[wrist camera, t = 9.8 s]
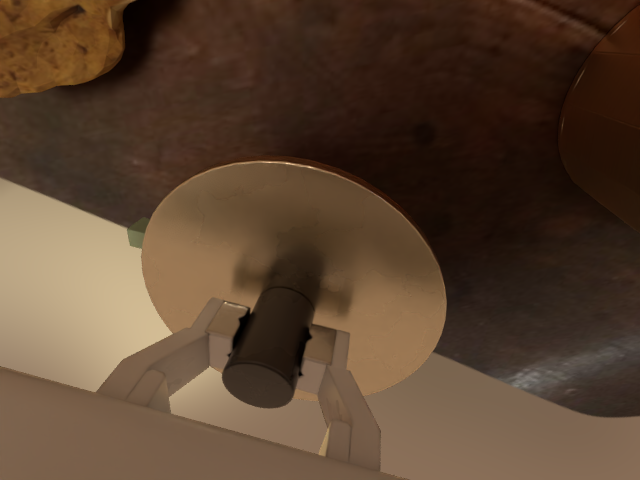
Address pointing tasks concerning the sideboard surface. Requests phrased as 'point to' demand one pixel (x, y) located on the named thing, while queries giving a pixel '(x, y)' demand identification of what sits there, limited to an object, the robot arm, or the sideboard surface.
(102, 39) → the fossil
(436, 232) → the sideboard surface
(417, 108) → the sideboard surface
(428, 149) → the sideboard surface
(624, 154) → the tin
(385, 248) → the lid
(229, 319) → the robot arm
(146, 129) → the sideboard surface
